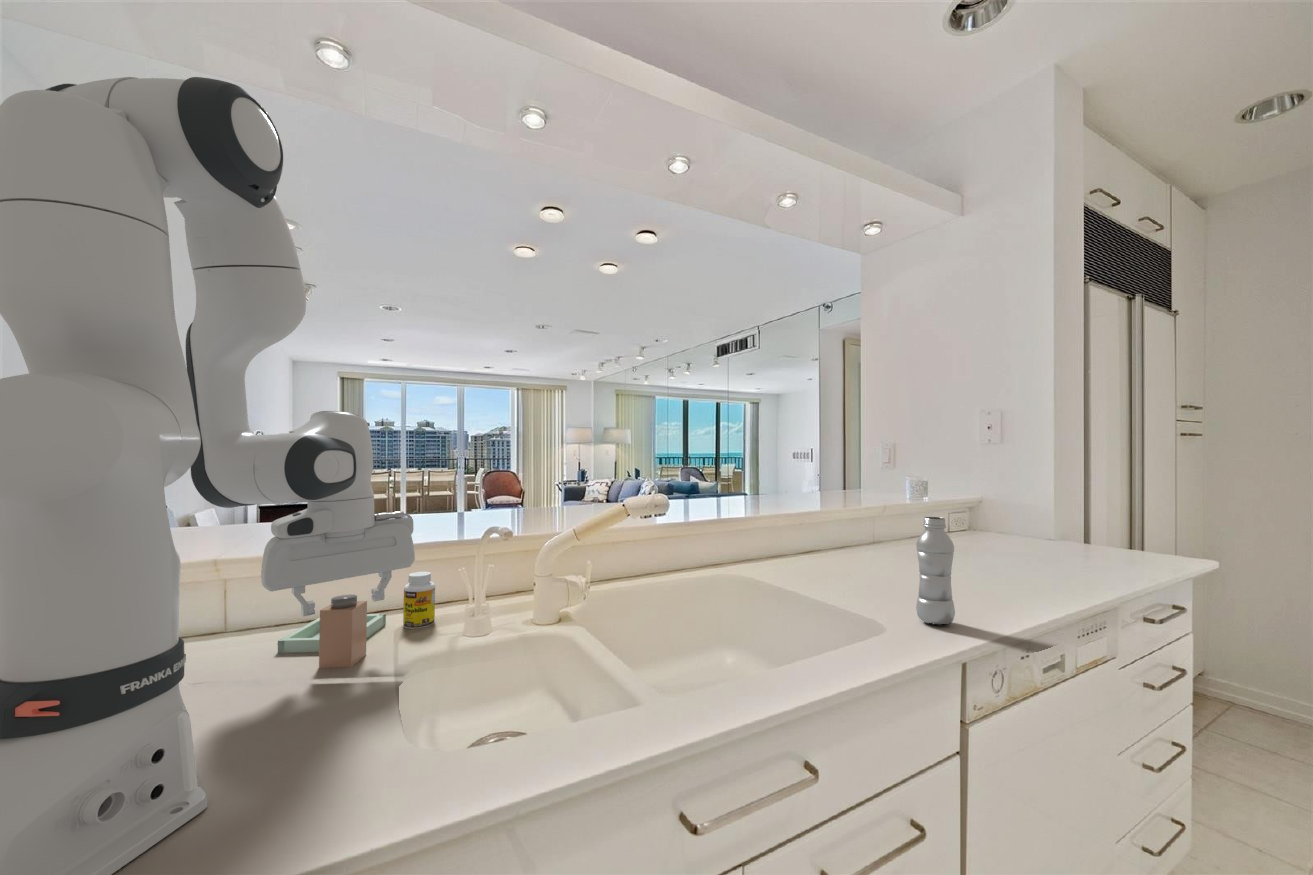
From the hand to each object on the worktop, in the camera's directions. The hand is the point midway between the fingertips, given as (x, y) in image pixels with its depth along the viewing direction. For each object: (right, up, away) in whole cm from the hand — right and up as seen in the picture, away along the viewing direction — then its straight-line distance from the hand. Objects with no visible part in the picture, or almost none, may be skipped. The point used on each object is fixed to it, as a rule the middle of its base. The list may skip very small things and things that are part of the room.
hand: (344, 607), depth 81 cm
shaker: (0, -9, -1) cm, 9 cm away
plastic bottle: (+101, -9, +19) cm, 103 cm away
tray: (-7, -9, +9) cm, 15 cm away
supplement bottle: (+4, -9, +17) cm, 19 cm away
